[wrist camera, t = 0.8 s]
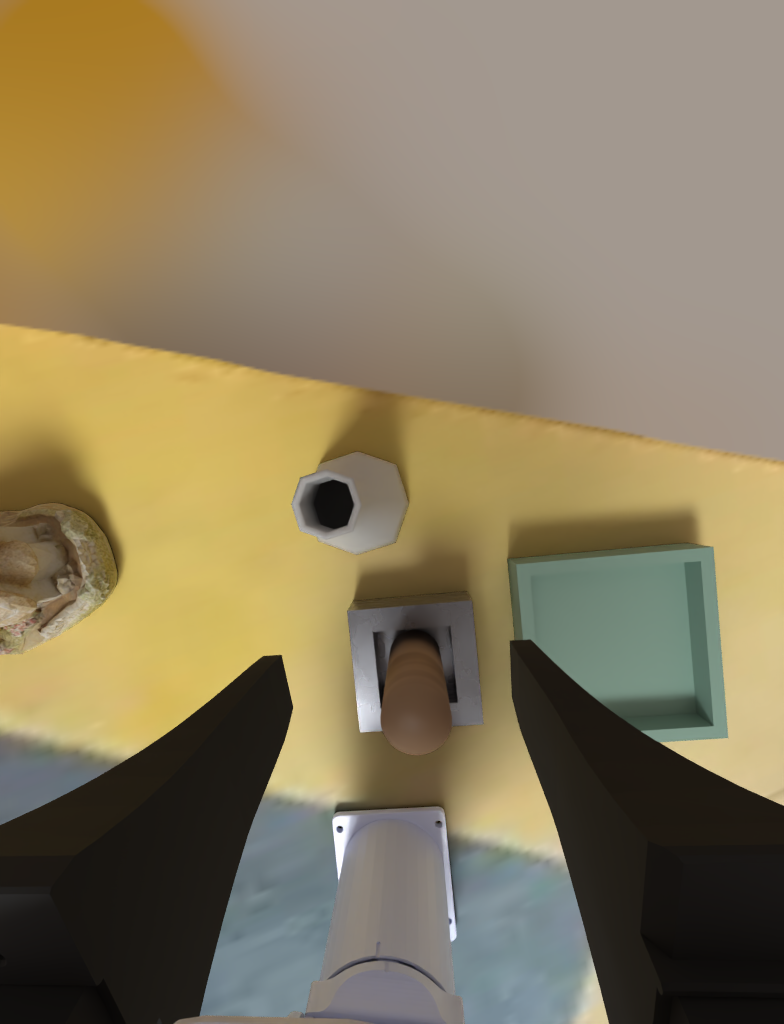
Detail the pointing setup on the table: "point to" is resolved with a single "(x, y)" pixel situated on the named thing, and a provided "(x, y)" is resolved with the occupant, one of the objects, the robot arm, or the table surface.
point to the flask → (352, 503)
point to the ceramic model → (50, 573)
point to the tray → (631, 632)
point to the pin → (415, 695)
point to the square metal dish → (432, 614)
